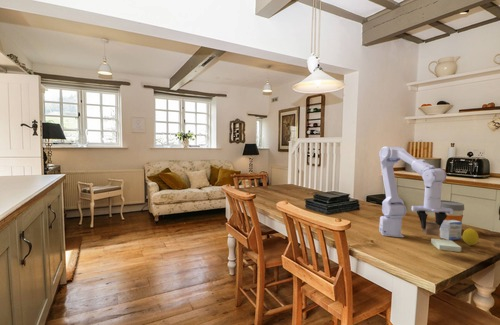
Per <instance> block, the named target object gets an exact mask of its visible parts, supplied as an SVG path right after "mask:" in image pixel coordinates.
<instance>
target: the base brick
mask: <svg viewBox="0 0 500 325" xmlns="http://www.w3.org/2000/svg"><path fill="white" fill-rule="evenodd" d="M430 243H431V244H432V245H433V246H434V247H435V248H437V249H438V250H439V251H447V252H448V251H450V252H458V253H462V246H460V245H459V244H457V243H456V242H454V240H446V239H442V238H441V239H439V238H431V239H430Z"/></svg>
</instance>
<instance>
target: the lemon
mask: <svg viewBox="0 0 500 325" xmlns="http://www.w3.org/2000/svg"><path fill="white" fill-rule="evenodd" d="M461 239H462V240H463V242H464V243H465V244H467V245H468V246H470V247H471V246H473V245H475V244H477V243H478V242H479V239H480V238H479V233H478V232H477V231H476V230H475V229H473V228H471V227H469V228H466V229H464V231H463V232H462V234H461Z"/></svg>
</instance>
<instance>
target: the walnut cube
mask: <svg viewBox="0 0 500 325" xmlns="http://www.w3.org/2000/svg"><path fill="white" fill-rule="evenodd" d="M439 226H440V225H439V224H437V223H435V221H429V220H428V221H427V220H426V228H425V229H423V228H422V227H421V232H422V233H424V234H425V235H427V236H436V237H437V236H438V237H440V230H439Z"/></svg>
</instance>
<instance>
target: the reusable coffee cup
mask: <svg viewBox="0 0 500 325" xmlns="http://www.w3.org/2000/svg"><path fill="white" fill-rule="evenodd" d="M440 207H441V208H450V209H453V214H449V213H446V214H447V218H446V219H445V220H457V221H460V222H462V221H463V218H464V215H463V213H464V210H465V204H464V203H462V202H459V201H452V200H447V199H446V200H445V199H441V205H440ZM434 220H435V221H436V219H435V218H434ZM462 223H463V222H462ZM440 228H441V227H440ZM439 231H440V229H439Z"/></svg>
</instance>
